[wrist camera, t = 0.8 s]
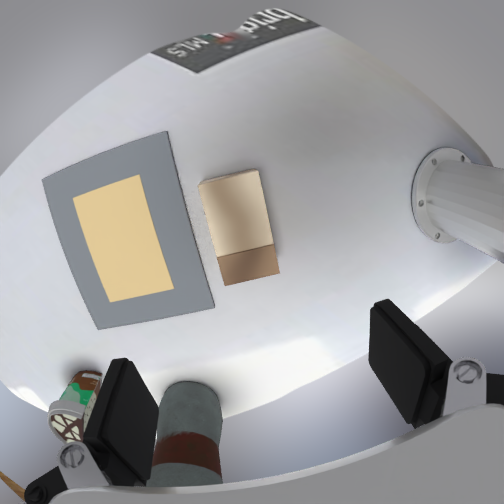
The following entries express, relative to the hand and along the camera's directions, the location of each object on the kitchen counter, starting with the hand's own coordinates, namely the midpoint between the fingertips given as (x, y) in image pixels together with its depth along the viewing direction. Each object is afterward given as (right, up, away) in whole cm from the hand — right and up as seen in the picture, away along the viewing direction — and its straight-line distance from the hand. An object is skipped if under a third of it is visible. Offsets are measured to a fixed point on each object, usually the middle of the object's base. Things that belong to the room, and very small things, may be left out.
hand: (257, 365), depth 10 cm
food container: (-27, -17, +27) cm, 41 cm away
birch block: (-2, +7, +21) cm, 22 cm away
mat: (-14, +5, +20) cm, 25 cm away
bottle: (-9, -18, +29) cm, 35 cm away
